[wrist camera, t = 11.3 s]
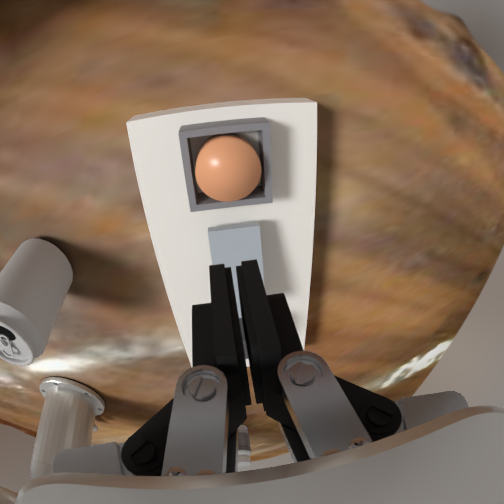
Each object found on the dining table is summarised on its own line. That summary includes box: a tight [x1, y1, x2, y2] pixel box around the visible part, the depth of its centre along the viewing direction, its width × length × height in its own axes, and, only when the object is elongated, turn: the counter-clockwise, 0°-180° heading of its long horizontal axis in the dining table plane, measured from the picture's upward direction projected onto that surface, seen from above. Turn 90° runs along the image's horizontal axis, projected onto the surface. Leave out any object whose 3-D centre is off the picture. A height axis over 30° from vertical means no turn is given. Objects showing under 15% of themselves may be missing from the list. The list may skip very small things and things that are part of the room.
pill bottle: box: [238, 425, 251, 467], centre depth 52 cm, size 5×5×8 cm
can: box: [0, 239, 73, 366], centre depth 24 cm, size 8×8×12 cm
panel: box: [126, 98, 317, 367], centre depth 29 cm, size 30×14×5 cm, turn 3°
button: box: [195, 133, 261, 202], centre depth 21 cm, size 4×4×2 cm
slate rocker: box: [208, 222, 265, 318], centre depth 26 cm, size 8×4×1 cm, turn 3°
